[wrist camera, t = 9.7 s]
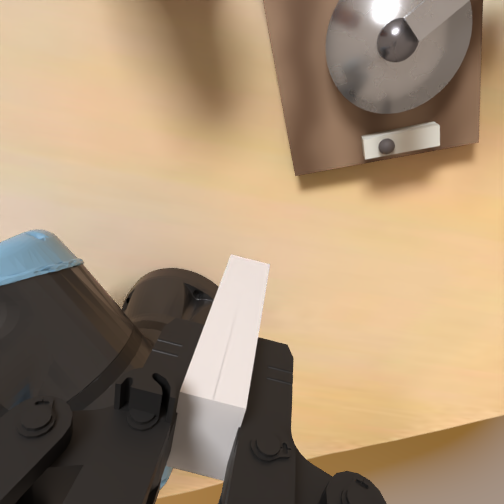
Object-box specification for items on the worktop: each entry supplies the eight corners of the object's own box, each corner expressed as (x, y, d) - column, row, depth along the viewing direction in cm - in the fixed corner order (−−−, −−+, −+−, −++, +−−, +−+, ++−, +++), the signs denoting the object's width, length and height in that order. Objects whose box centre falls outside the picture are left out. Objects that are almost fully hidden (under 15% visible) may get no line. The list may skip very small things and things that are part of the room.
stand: (296, 170, 41) (293, 185, 36) (243, -120, 30) (230, -149, 26) (473, 137, 37) (494, 149, 32) (481, -211, 26) (514, -263, 22)
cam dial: (372, 136, 36) (392, 168, 26) (299, 35, 33) (291, 29, 23) (550, 1, 29) (665, -23, 20) (479, -140, 26) (573, -249, 17)
